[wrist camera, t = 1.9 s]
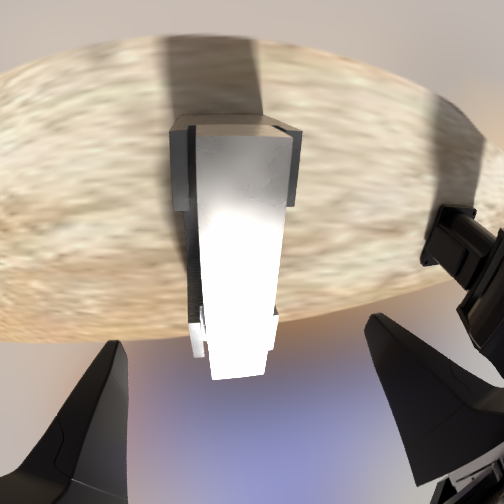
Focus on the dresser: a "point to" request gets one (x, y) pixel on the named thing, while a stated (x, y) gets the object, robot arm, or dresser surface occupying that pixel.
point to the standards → (186, 201)
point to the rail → (240, 239)
